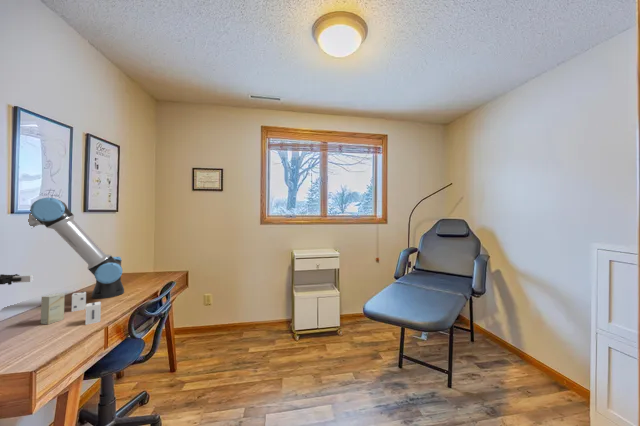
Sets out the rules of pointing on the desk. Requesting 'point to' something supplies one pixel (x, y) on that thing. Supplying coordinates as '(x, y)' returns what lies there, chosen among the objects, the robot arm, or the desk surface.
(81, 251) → the robot arm
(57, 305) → the skincare box
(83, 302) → the marked block two
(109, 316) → the desk surface
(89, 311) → the marked block one
